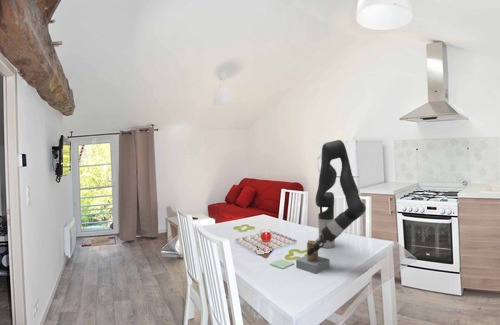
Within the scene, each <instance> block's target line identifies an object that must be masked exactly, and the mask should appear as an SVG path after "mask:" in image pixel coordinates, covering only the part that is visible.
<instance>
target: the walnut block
mask: <svg viewBox="0 0 500 325" xmlns="http://www.w3.org/2000/svg"><path fill="white" fill-rule="evenodd" d="M315 242H316V240H311V239H310V240H309V239H308V240H307V242H306V254H307V252H308V251H309V250H310V249H311V248H312V247H313V246H314V245H315ZM315 248H316V249H317V247H315ZM318 256H319V250H318V251H317V252H316V251H315V252H314V253H313V254H312V255H311V256H309V255H308V254H307V261H318Z"/></svg>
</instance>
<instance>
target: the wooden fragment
mask: <svg viewBox="0 0 500 325" xmlns="http://www.w3.org/2000/svg"><path fill="white" fill-rule="evenodd" d="M271 253H272V252H269V253H264V254H257V253H256V255H257V256H259V257H262V258H263V259H268V258H269V256H270V255H271Z"/></svg>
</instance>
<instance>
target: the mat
mask: <svg viewBox="0 0 500 325" xmlns="http://www.w3.org/2000/svg"><path fill="white" fill-rule="evenodd" d="M269 265H270V266H272V267H275V268H278V269H282V270H284V269H287V268H289V267H291V266H293V265H295V263H294V262H291V261H288V260H286V259H281V258H280V259H278V260H276V261H273V262H271V263H269Z"/></svg>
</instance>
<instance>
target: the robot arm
mask: <svg viewBox="0 0 500 325" xmlns="http://www.w3.org/2000/svg"><path fill="white" fill-rule="evenodd" d="M337 159H340V162H341V170H340V176H339V185H340V188H341V189H342V192H343V195H344V197H345V203H346V205H347V209H346V210H344V211H342V212H341V213H339V214H338V215H337V216H336V217H335V194H334V193H333V192H331V191H329V190H330V189H332V188H333V187H334V186H335V184H336V181H337V176H338V174H337V171H336V168H334V166H333V165H332V164H331V163H332V162H331V161H333V160H337ZM320 164H321V165H320V172H319V176H318V186H317V190H316V194H315V205H316V206H317V207H318V208H326V209H325V210H323V211H322V212H319V213H318V215H317V217H318V237H317V238H316V240H315V241H316V242H315V245H314V246H313V247H312V248H311V249H310V250H309V251H308V252H307V251H306V254H308V255H309V256H311V255H312V254H313V253H314V252H315V251H316V252H317V251H318V252H319V250H320V249H322V248H323V249H331V248H335V246H336V245H335V243H336V242H335V240H336V239H337V238H338V237H340V235H341V234H342V233H343V232H344V231H345V230H346V229H347V228H348V227H349V226H350V225H351V224H352V223H354V222H355V221H356V220H357V219H359V218H361V217H362V216H363V215H364V213H365V212H366V204H365V203H364V202H362V200H361V197H360V194H359V189H358V186H357V184H356V180H355V179H354V175H353V173H352V168H351V163H350V160H349V155H348V152H347V148H346V145H345V143H344V141H342V140H341V139H337V140H333V141H329V142H325V143H324V144H323V145H322V147H321V163H320ZM315 247H317V249H316V248H315Z"/></svg>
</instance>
